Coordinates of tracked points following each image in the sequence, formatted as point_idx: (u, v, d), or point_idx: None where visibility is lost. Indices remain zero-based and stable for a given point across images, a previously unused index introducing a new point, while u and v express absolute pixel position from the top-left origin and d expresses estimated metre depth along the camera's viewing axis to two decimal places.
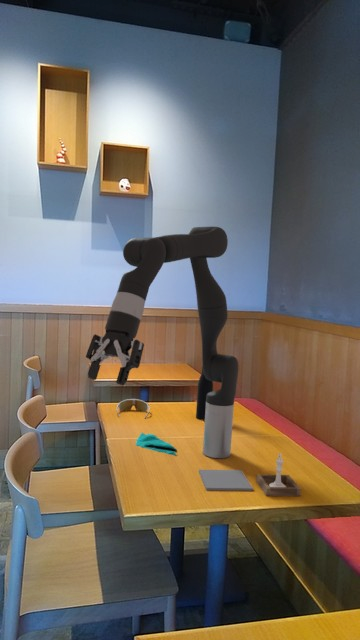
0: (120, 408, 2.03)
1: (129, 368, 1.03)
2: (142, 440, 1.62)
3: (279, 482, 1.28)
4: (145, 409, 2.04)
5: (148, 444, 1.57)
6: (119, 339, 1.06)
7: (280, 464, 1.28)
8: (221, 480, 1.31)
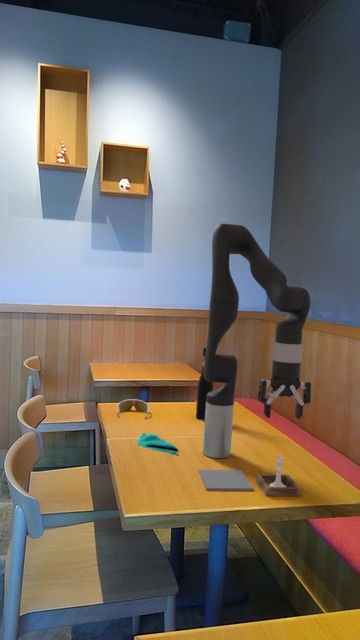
0: (120, 408, 2.02)
1: None
2: (144, 440, 1.63)
3: (279, 482, 1.28)
4: (145, 409, 2.03)
5: (150, 444, 1.58)
6: (291, 383, 1.26)
7: (280, 464, 1.28)
8: (221, 480, 1.31)
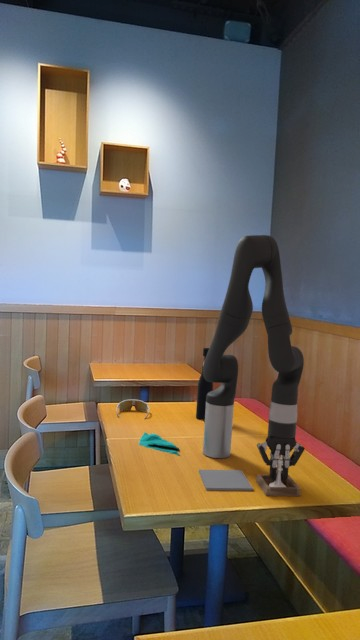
0: (120, 408, 2.02)
1: None
2: (145, 440, 1.63)
3: (279, 482, 1.28)
4: (145, 409, 2.03)
5: (151, 444, 1.58)
6: (287, 442, 1.27)
7: (280, 464, 1.28)
8: (221, 480, 1.31)
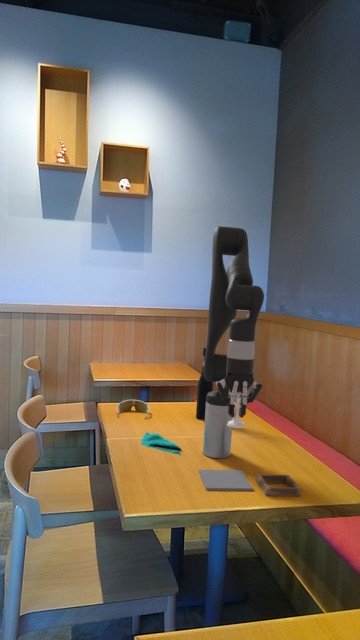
0: (120, 409, 2.02)
1: None
2: (147, 439, 1.64)
3: (237, 419, 1.30)
4: (145, 410, 2.03)
5: (153, 443, 1.58)
6: (244, 379, 1.29)
7: (238, 401, 1.30)
8: (221, 480, 1.31)
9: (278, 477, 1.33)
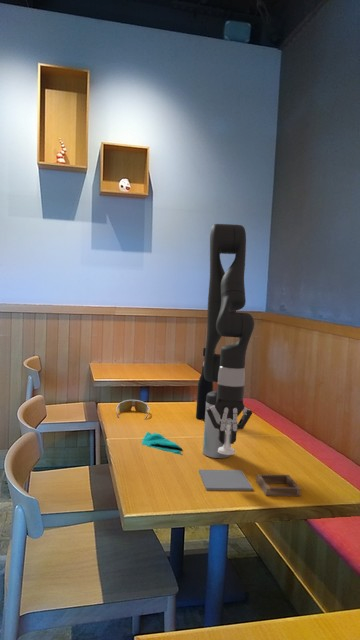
0: (120, 409, 2.01)
1: None
2: (148, 439, 1.64)
3: (227, 445, 1.31)
4: (145, 410, 2.02)
5: (154, 443, 1.59)
6: (234, 405, 1.30)
7: (228, 427, 1.31)
8: (221, 480, 1.31)
9: (278, 477, 1.33)
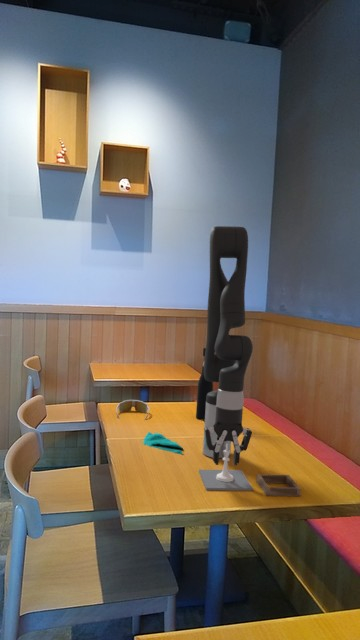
0: (120, 409, 2.01)
1: None
2: (149, 439, 1.64)
3: (226, 472, 1.31)
4: (145, 410, 2.02)
5: (155, 443, 1.59)
6: (233, 428, 1.31)
7: (227, 454, 1.31)
8: None
9: (278, 477, 1.33)
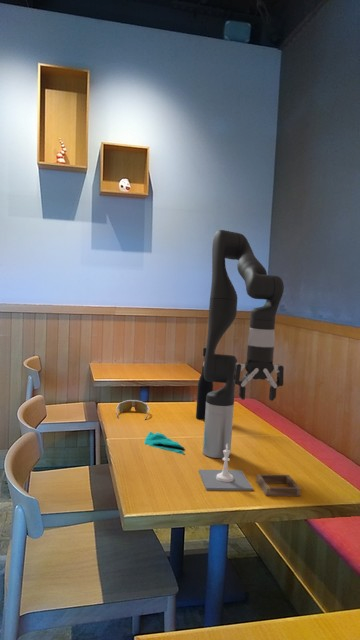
0: (120, 409, 2.01)
1: None
2: (150, 439, 1.64)
3: (226, 472, 1.31)
4: (145, 410, 2.02)
5: (156, 443, 1.59)
6: (264, 366, 1.33)
7: (227, 454, 1.31)
8: None
9: (278, 477, 1.33)
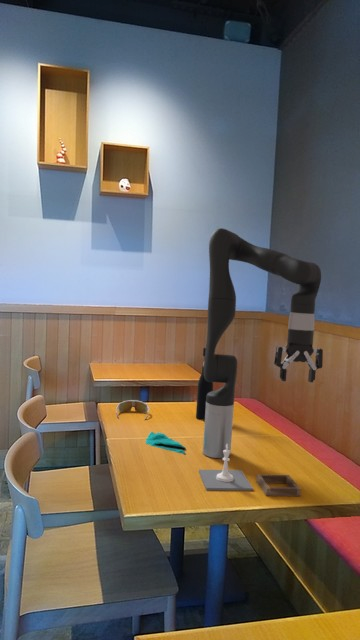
0: (120, 409, 2.01)
1: None
2: (151, 439, 1.65)
3: (226, 472, 1.31)
4: (145, 410, 2.02)
5: (157, 443, 1.59)
6: (305, 349, 1.39)
7: (227, 454, 1.31)
8: None
9: (278, 477, 1.33)
